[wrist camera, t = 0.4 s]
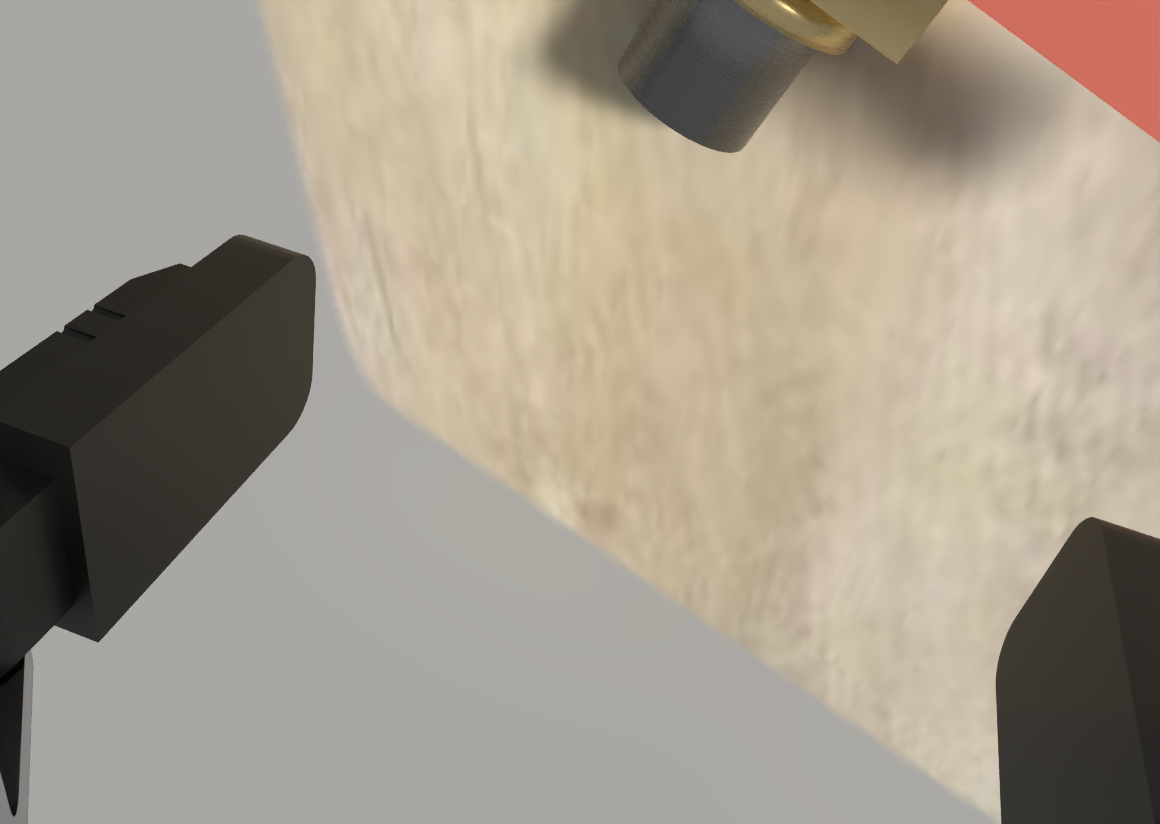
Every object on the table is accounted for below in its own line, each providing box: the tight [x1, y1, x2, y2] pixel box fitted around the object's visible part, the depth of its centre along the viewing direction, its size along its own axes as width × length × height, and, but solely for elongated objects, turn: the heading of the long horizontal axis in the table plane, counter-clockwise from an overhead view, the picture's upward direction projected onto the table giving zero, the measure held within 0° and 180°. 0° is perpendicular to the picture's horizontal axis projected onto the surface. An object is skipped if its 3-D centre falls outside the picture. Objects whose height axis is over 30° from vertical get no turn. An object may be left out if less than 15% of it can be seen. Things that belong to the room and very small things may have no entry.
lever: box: [968, 0, 1160, 142], centre depth 23 cm, size 20×4×2 cm, turn 59°
